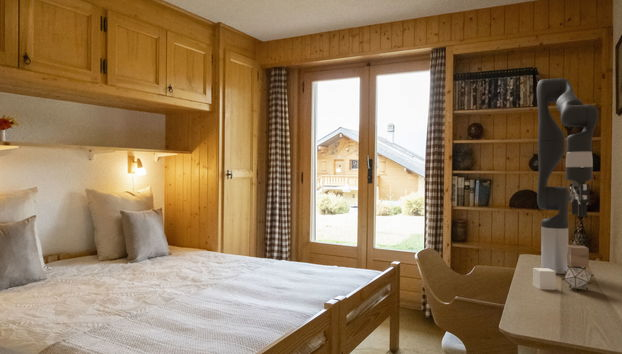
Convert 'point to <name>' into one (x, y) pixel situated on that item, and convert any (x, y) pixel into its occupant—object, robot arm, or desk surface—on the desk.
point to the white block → (544, 278)
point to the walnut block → (578, 256)
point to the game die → (577, 277)
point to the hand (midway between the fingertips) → (578, 215)
